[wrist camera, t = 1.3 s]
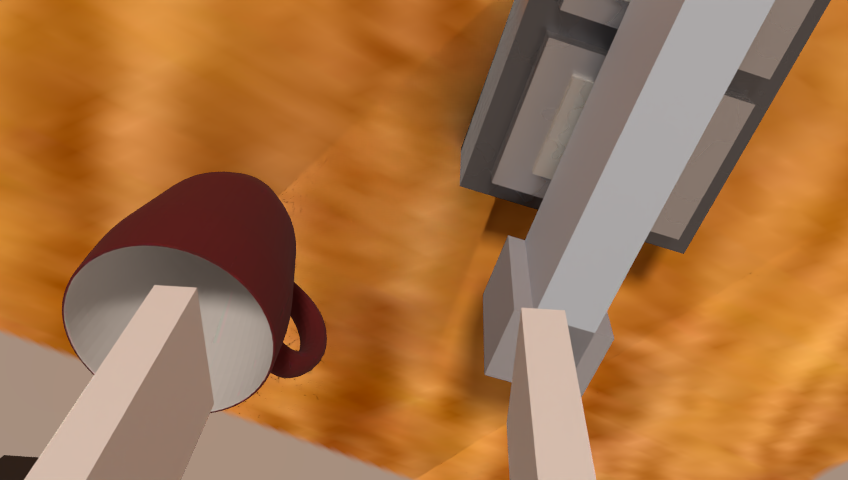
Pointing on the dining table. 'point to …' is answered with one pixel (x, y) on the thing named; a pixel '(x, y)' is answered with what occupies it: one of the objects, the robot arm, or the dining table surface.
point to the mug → (204, 281)
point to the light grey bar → (617, 172)
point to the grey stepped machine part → (571, 85)
